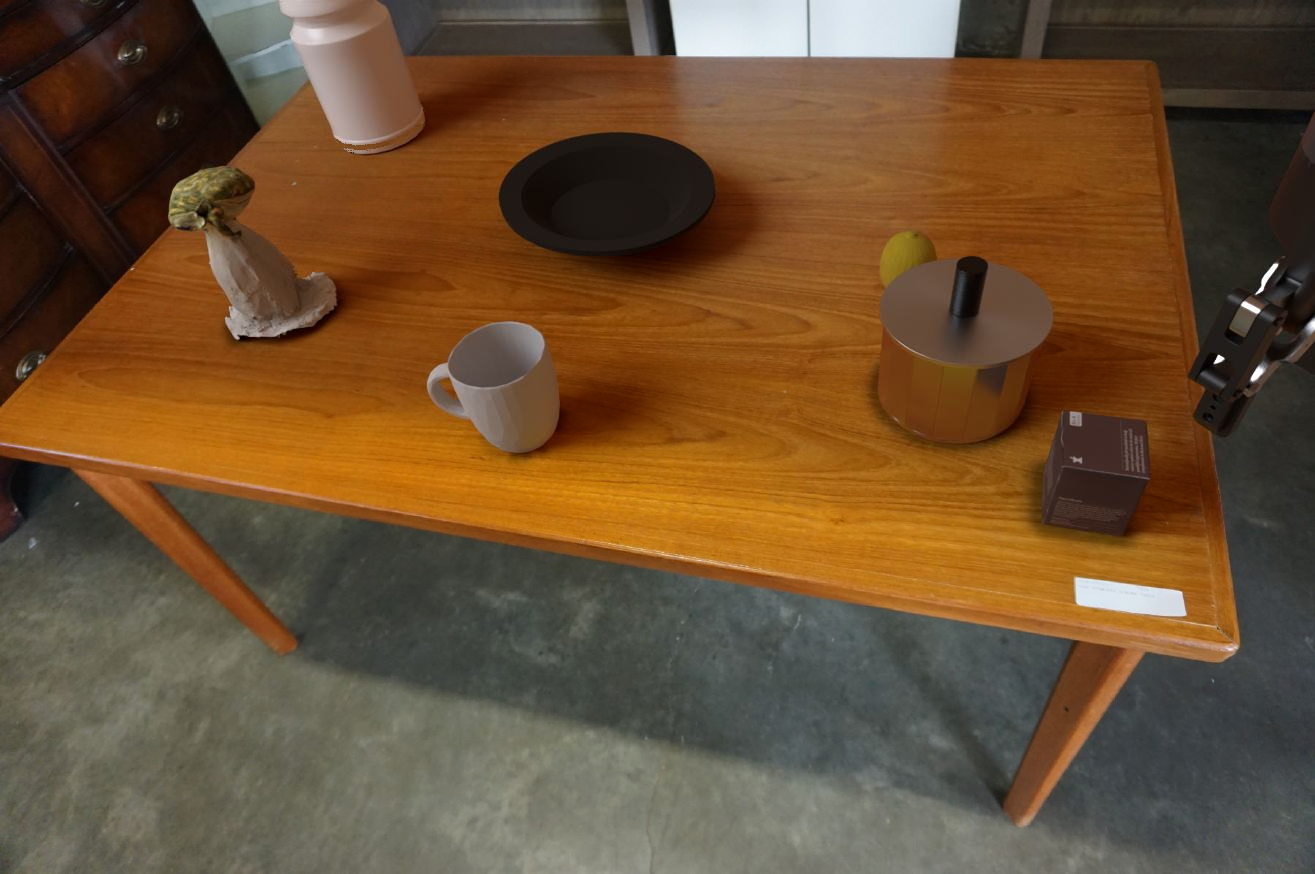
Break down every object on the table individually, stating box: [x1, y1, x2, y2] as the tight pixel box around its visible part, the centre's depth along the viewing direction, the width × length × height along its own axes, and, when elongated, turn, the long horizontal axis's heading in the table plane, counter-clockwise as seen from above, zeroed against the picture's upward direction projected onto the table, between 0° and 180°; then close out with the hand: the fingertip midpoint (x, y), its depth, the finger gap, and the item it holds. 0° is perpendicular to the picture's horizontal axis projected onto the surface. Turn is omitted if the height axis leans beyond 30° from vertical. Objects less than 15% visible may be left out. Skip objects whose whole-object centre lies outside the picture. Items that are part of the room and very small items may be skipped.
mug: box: [426, 320, 561, 454], centre depth 78 cm, size 13×9×10 cm
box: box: [1041, 410, 1151, 537], centre depth 65 cm, size 6×6×7 cm
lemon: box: [879, 230, 938, 289], centre depth 84 cm, size 6×6×8 cm
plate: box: [498, 131, 717, 258], centre depth 100 cm, size 28×24×6 cm
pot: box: [876, 327, 1042, 445], centre depth 74 cm, size 13×13×10 cm
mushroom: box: [167, 165, 338, 340], centre depth 92 cm, size 12×13×18 cm
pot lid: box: [878, 255, 1054, 369], centre depth 69 cm, size 14×14×6 cm
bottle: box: [278, 0, 426, 155], centre depth 117 cm, size 14×14×28 cm
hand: (1261, 396), depth 50 cm, fingers open, 8 cm apart
